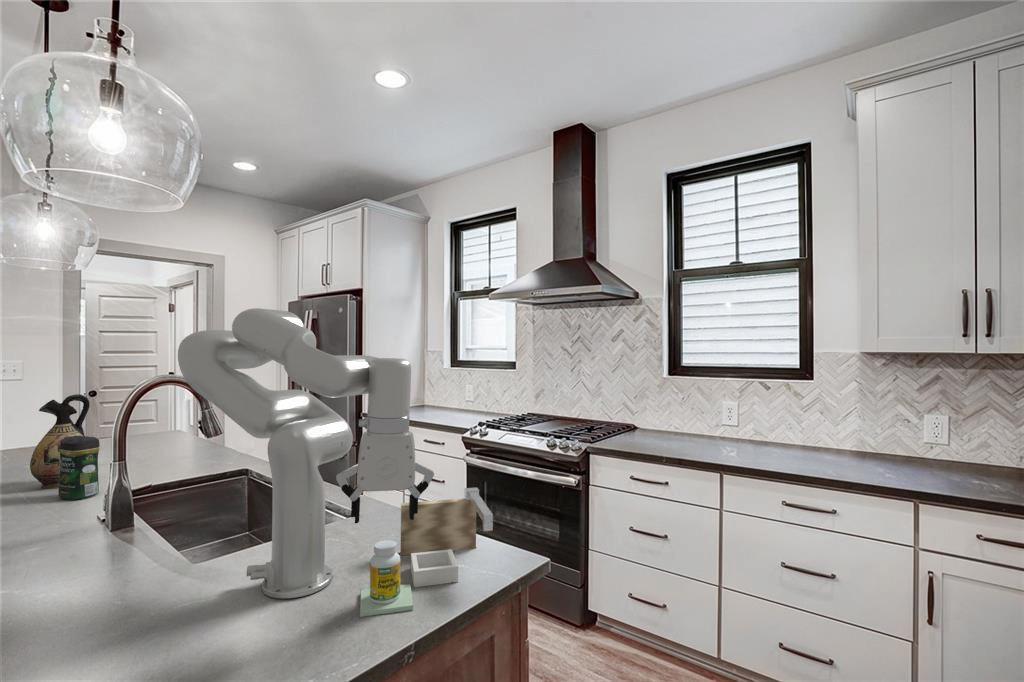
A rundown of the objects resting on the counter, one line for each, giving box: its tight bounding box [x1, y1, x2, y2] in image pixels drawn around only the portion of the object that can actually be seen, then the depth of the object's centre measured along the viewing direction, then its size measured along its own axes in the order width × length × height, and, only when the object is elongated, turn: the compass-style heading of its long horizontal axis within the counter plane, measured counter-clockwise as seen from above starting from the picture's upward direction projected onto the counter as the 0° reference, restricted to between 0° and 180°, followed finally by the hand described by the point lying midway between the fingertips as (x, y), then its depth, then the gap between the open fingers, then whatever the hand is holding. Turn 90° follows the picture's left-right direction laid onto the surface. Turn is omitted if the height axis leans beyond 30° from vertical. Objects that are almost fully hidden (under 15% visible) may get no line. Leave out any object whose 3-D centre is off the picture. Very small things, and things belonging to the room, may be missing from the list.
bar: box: [463, 487, 494, 532], centre depth 105 cm, size 3×19×3 cm, turn 16°
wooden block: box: [399, 497, 477, 557], centre depth 111 cm, size 17×2×11 cm, turn 106°
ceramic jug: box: [29, 393, 91, 490], centre depth 161 cm, size 17×15×30 cm
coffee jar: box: [58, 435, 101, 501], centre depth 148 cm, size 10×8×19 cm
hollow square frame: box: [410, 549, 459, 588], centre depth 99 cm, size 9×9×3 cm
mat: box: [359, 583, 414, 618], centre depth 88 cm, size 9×8×1 cm
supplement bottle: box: [369, 539, 401, 604], centre depth 88 cm, size 5×5×10 cm
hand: (384, 519), depth 88 cm, fingers open, 9 cm apart
